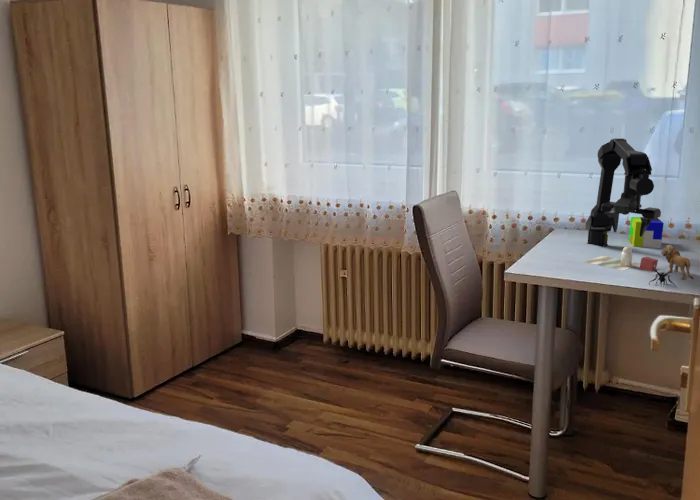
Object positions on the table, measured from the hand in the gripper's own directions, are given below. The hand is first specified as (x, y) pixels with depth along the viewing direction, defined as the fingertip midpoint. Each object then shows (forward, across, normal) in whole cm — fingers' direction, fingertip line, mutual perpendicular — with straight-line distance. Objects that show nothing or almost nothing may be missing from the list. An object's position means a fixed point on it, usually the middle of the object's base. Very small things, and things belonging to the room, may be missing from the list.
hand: (627, 234), depth 234 cm
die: (+9, +6, 0) cm, 11 cm away
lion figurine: (+12, +17, +3) cm, 21 cm away
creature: (+12, +19, -13) cm, 26 cm away
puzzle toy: (+12, -10, +38) cm, 41 cm away
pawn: (+11, +1, -1) cm, 11 cm away
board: (+12, -4, -1) cm, 12 cm away
